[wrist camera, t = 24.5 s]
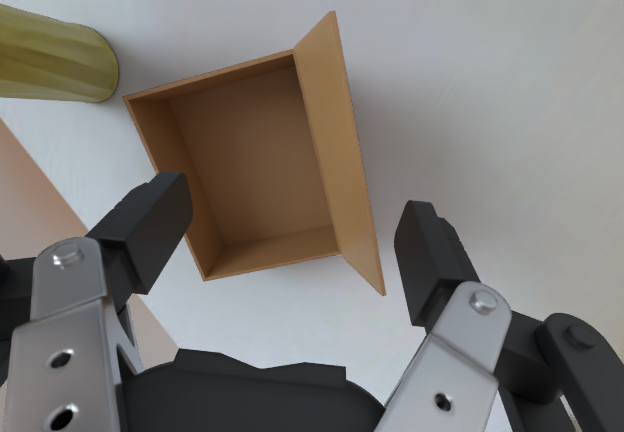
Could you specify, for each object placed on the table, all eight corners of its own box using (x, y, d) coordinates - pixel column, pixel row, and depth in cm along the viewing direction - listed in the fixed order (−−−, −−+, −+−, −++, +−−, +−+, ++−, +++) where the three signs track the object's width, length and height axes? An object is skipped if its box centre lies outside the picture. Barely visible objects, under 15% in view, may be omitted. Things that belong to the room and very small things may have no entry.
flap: (329, 11, 13) (335, 10, 13) (293, 47, 18) (298, 46, 18) (382, 296, 18) (386, 294, 18) (342, 257, 24) (345, 256, 24)
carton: (166, 98, 26) (121, 96, 20) (301, 60, 25) (296, 47, 19) (224, 248, 32) (203, 281, 26) (338, 224, 30) (343, 253, 24)
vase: (63, 104, 27) (-191, 107, 13) (37, 26, 24) (-300, -64, 11) (128, 100, 26) (-65, 99, 13) (107, 21, 24) (-151, -77, 11)
